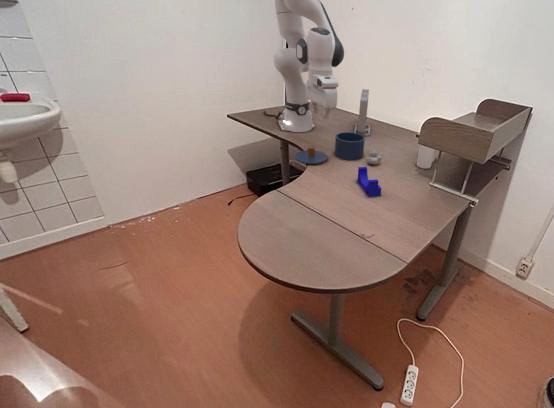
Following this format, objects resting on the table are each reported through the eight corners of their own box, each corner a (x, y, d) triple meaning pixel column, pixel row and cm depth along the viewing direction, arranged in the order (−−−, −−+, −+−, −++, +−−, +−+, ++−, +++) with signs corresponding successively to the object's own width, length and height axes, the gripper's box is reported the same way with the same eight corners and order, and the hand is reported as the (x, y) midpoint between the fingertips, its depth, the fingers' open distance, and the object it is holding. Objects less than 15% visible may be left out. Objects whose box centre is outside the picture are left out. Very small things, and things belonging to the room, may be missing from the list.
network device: (356, 122, 179) (358, 88, 168) (370, 124, 179) (373, 89, 168) (353, 136, 157) (355, 97, 146) (369, 138, 157) (373, 99, 147)
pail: (330, 151, 137) (330, 133, 132) (354, 148, 143) (355, 130, 139) (343, 162, 128) (344, 143, 123) (368, 158, 134) (370, 140, 130)
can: (419, 161, 135) (424, 136, 129) (432, 165, 133) (438, 140, 126) (413, 166, 130) (418, 140, 124) (427, 170, 128) (433, 144, 121)
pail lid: (289, 154, 130) (289, 143, 127) (319, 150, 136) (319, 140, 134) (302, 167, 120) (301, 155, 117) (333, 162, 127) (333, 151, 124)
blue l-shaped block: (380, 195, 106) (382, 180, 103) (368, 197, 104) (370, 181, 101) (368, 180, 115) (369, 166, 112) (357, 181, 114) (358, 167, 110)
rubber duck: (365, 161, 131) (367, 143, 127) (380, 162, 131) (382, 144, 127) (366, 166, 126) (368, 148, 122) (381, 167, 127) (384, 149, 123)
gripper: (301, 73, 117) (302, 109, 124) (324, 83, 102) (324, 123, 109) (316, 73, 120) (316, 108, 127) (340, 83, 105) (339, 121, 113)
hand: (320, 115), depth 118 cm, fingers open, 8 cm apart
